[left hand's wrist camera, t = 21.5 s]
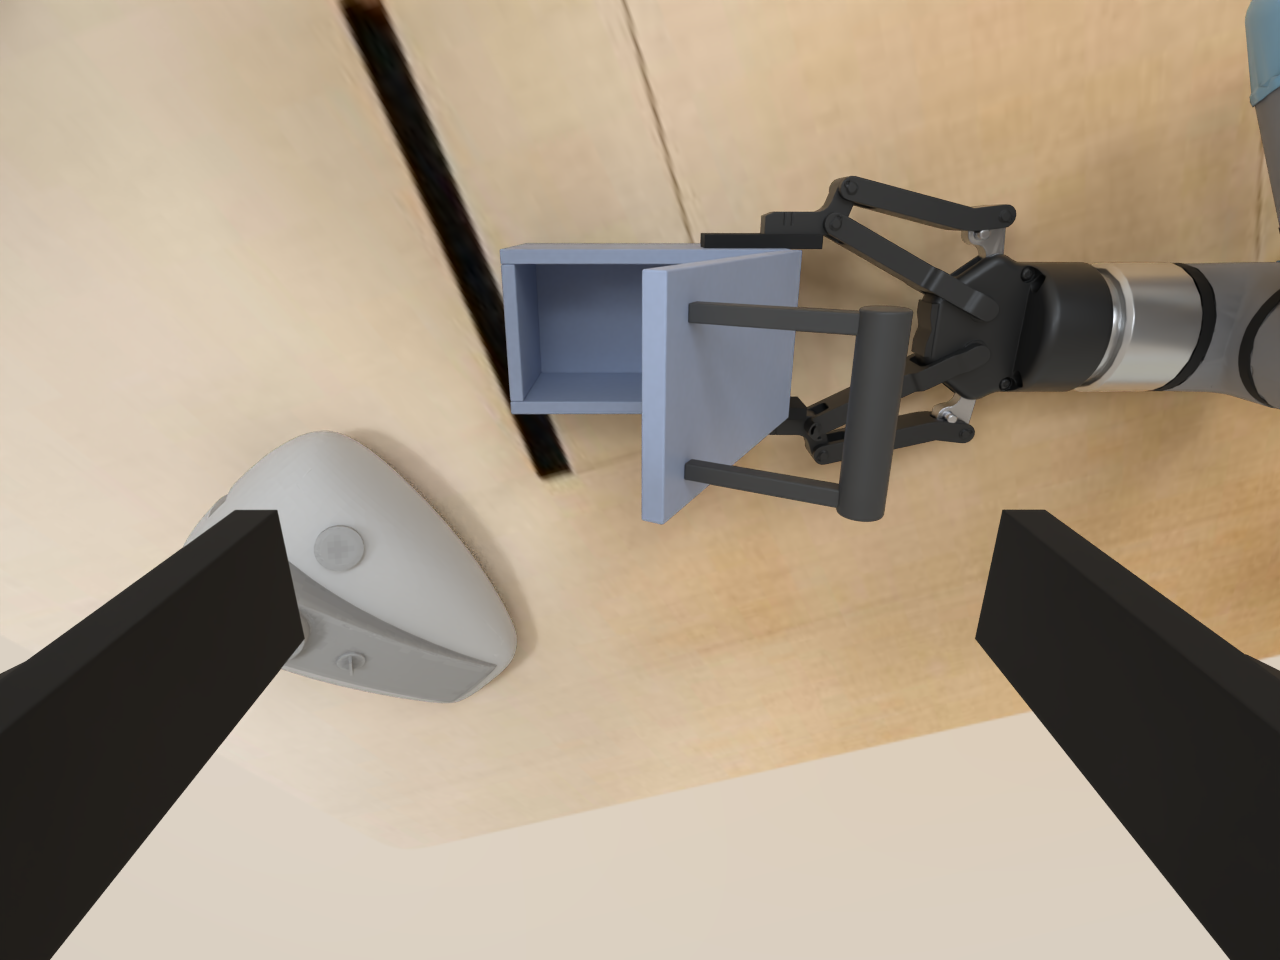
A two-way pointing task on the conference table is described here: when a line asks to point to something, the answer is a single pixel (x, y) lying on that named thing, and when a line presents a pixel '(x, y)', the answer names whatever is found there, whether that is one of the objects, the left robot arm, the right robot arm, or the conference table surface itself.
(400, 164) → the conference table surface
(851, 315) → the lid
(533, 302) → the chest
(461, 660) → the projector
